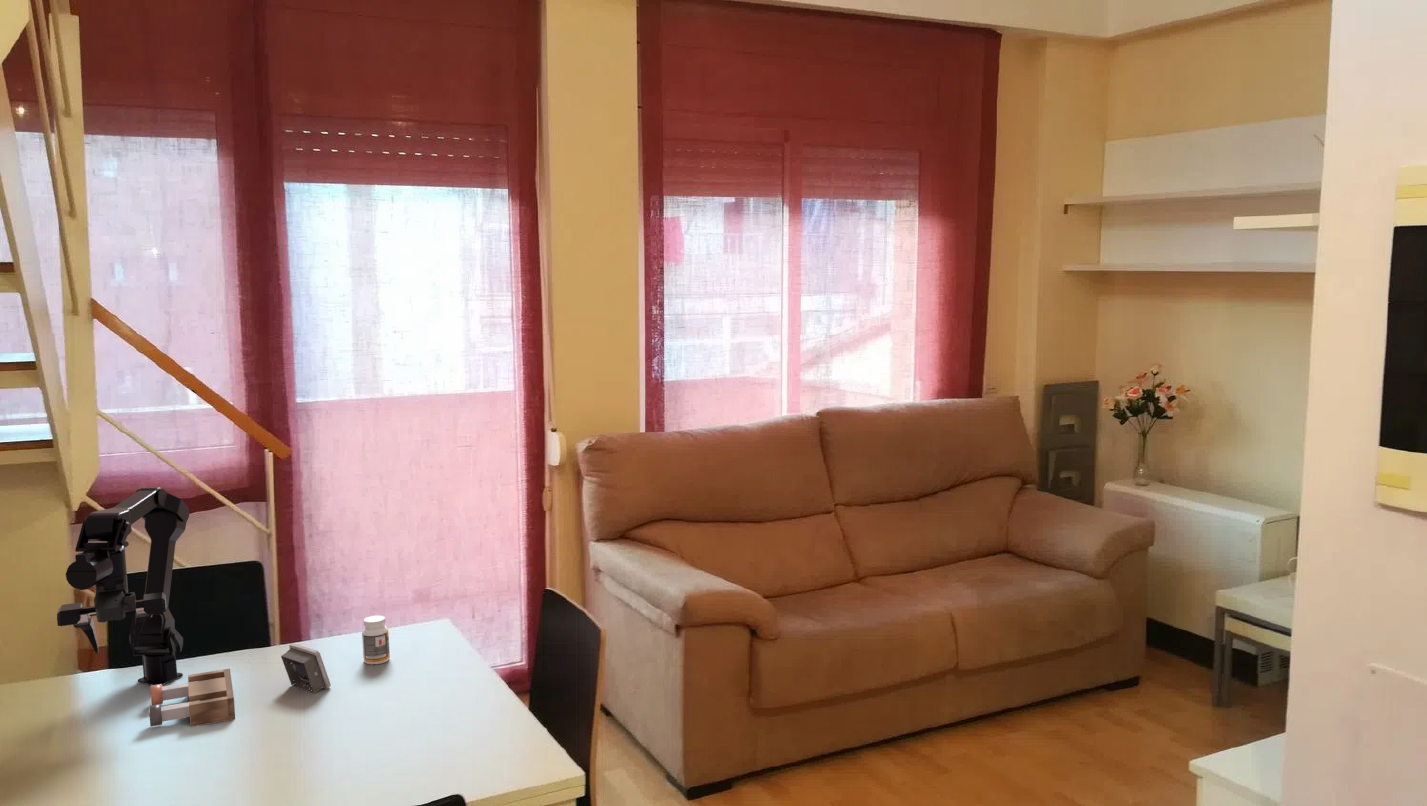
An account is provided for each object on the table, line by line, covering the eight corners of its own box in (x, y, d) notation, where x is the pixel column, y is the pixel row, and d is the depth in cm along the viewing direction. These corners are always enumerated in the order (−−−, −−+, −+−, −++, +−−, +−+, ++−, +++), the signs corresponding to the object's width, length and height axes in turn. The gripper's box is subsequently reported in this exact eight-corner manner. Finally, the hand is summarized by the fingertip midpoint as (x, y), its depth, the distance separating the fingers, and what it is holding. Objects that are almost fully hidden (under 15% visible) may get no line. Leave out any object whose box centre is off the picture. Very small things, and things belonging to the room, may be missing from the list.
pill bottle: (394, 660, 242) (392, 618, 240) (371, 667, 237) (369, 624, 236) (381, 654, 245) (379, 612, 244) (358, 661, 241) (356, 618, 240)
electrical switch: (332, 688, 226) (326, 648, 224) (311, 699, 222) (305, 658, 220) (304, 679, 231) (298, 639, 229) (283, 689, 227) (277, 649, 225)
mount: (190, 726, 208) (189, 705, 207) (189, 695, 223) (188, 675, 222) (235, 718, 211) (233, 697, 211) (231, 688, 226) (229, 668, 226)
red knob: (151, 708, 215) (150, 689, 214) (152, 701, 219) (150, 682, 218) (199, 700, 219) (198, 681, 218) (199, 693, 222) (198, 675, 222)
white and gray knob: (150, 730, 205) (149, 710, 205) (151, 722, 209) (149, 702, 208) (201, 721, 209) (199, 701, 209) (200, 713, 213) (199, 694, 212)
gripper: (51, 592, 199) (58, 672, 201) (162, 578, 208) (168, 655, 210) (56, 576, 209) (63, 653, 211) (163, 564, 218) (168, 637, 220)
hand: (116, 650), depth 213 cm, fingers open, 6 cm apart
